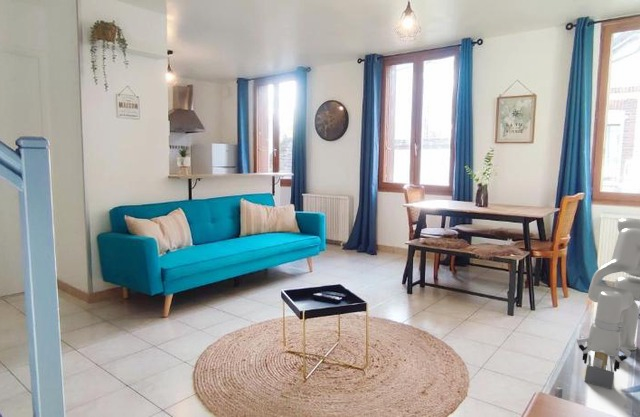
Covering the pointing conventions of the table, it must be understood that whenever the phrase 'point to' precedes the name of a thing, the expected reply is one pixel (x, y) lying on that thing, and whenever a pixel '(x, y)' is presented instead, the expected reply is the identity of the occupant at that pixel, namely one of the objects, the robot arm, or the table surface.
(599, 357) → the sprinkles bottle
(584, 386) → the table surface
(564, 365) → the table surface
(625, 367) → the table surface
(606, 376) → the guide channel
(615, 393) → the table surface
